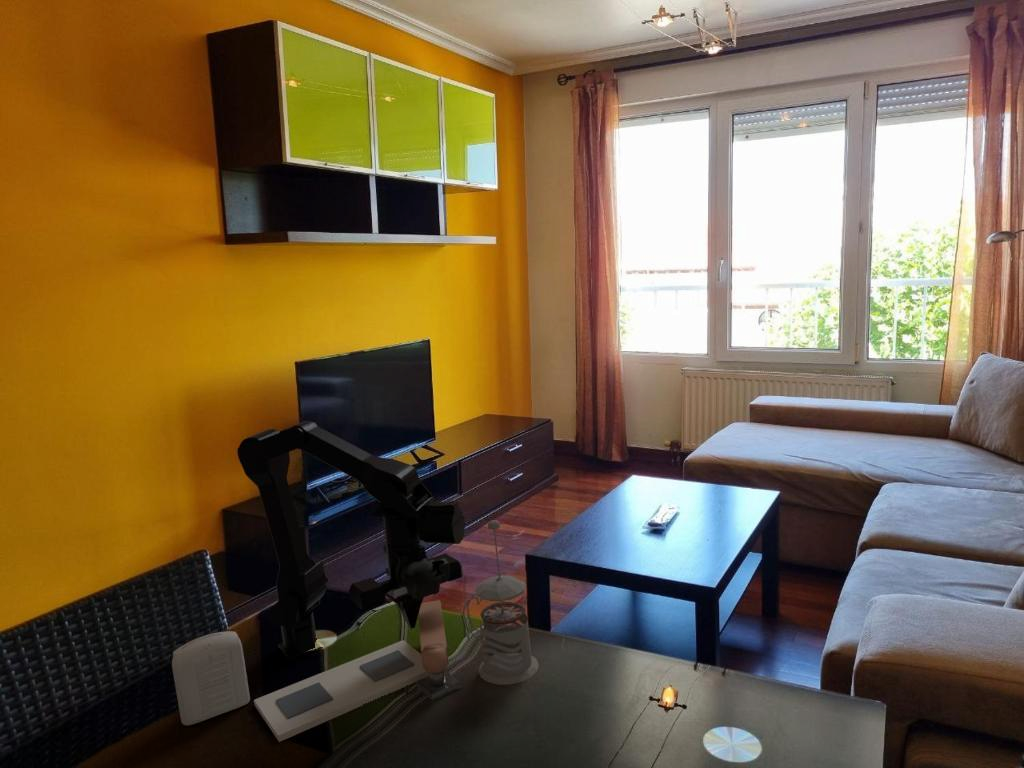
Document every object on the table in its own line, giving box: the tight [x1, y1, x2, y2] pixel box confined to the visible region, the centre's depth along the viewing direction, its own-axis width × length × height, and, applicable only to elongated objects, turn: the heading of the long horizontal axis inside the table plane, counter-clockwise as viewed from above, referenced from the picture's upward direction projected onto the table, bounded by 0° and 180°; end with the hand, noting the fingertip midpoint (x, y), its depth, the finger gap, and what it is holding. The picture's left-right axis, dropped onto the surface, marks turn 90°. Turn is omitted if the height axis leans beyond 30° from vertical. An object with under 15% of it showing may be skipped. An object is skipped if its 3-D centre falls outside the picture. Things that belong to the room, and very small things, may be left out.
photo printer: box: [171, 630, 251, 726], centre depth 116 cm, size 10×4×12 cm, turn 123°
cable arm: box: [418, 599, 450, 673], centre depth 124 cm, size 19×4×3 cm, turn 9°
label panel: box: [253, 639, 429, 743], centre depth 119 cm, size 12×26×1 cm, turn 125°
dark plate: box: [415, 669, 461, 702], centre depth 117 cm, size 5×5×3 cm
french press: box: [462, 519, 540, 686], centre depth 120 cm, size 10×12×25 cm
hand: (411, 627), depth 127 cm, fingers closed
